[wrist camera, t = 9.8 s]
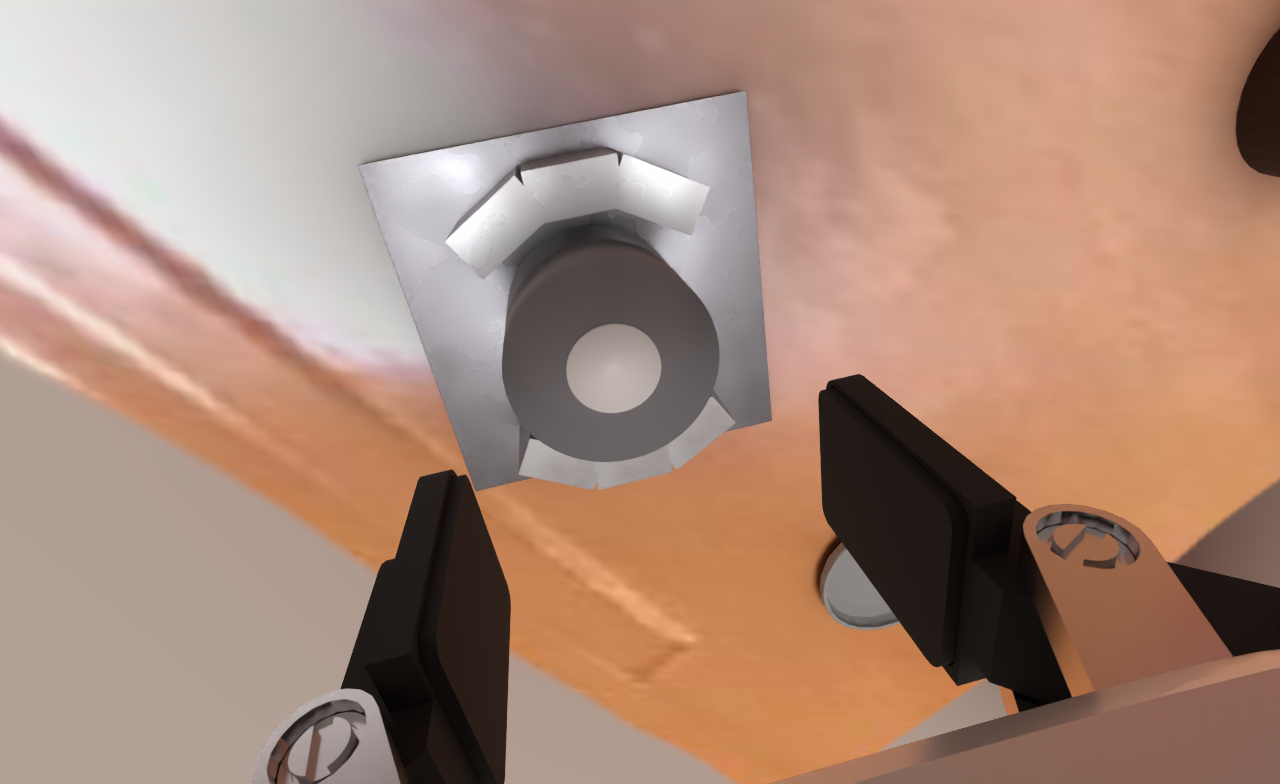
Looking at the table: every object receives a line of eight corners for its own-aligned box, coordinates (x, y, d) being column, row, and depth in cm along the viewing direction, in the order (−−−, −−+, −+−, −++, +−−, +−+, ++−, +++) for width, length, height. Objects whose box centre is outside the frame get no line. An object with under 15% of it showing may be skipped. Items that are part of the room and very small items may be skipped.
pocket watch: (807, 623, 30) (925, 839, 21) (826, 485, 27) (978, 675, 18) (954, 600, 31) (1124, 795, 22) (991, 465, 28) (1212, 634, 19)
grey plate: (362, 164, 18) (327, 175, 15) (740, 91, 19) (782, 87, 16) (476, 483, 23) (468, 541, 20) (767, 415, 24) (802, 459, 21)
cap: (485, 245, 19) (472, 288, 15) (665, 208, 20) (708, 238, 15) (531, 406, 22) (533, 485, 17) (689, 370, 22) (731, 438, 18)
